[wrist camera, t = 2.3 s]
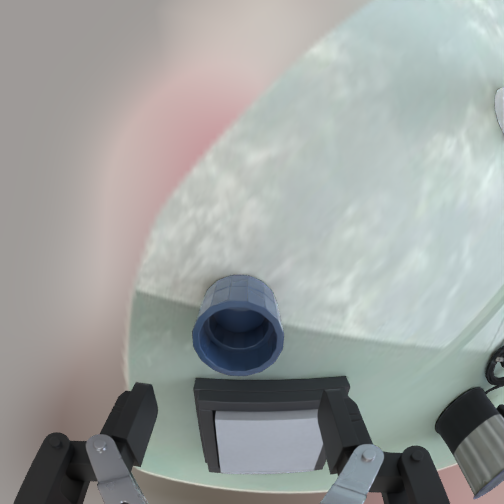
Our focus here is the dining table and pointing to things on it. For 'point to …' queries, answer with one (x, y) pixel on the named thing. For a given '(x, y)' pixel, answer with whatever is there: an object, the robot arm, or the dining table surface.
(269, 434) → the pan
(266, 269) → the dining table surface
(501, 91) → the foam cup
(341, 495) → the robot arm
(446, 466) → the dining table surface
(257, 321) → the blue cup
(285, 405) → the scale
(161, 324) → the dining table surface
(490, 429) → the milk frother
